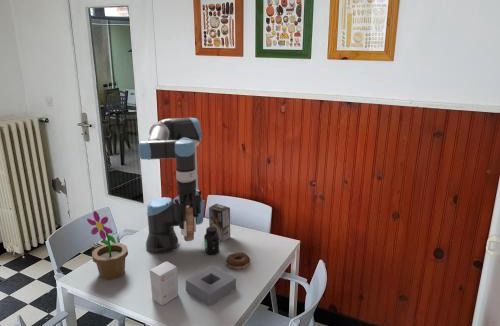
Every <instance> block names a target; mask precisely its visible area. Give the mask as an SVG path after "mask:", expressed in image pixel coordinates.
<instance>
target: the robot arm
mask: <svg viewBox="0 0 500 326" xmlns="http://www.w3.org/2000/svg"><path fill="white" fill-rule="evenodd" d="M148 133H149V134H148V135H149V136H148V139H147V140H142V141H139V143H138V156H139V159H141V160H148V161H149V160H166V159H167V160H168V159H169V160H171V159H172V160H173V159H175V179H176V189H177V196H175V197H172V198H171V197H165V196H164V197H158V198H155V199H153V200H151V201H149V203H148V204H147V206H146V207H147V209H146V210H147V212H146V216H147V223H148V224H147V226H148V234H147V239H146V241H145V248H146V250H147V251H148V252H150V253H151V254H152V253H153V254H167V253H170V252H172V251H174V250H176V249H177V248H178V247H179V239H178V236H177V234H176V232H175V228H174V227H179V229H180V234H181V236H183V237H184V236H187V228H186V221H185V212H186V206H192V207H193V226H194V233H196V232H197V226H198V225H201V224H203V223H204V222H203V221H204V216H205V215H204V214H205V213H204V212H205V204H206V203H205V202H206V200H204V199H203V198H202V191H201V190H199V182H198V181H199V180H198V179H199V178H198V177H199V176H198V157H197V156H198V155H197V154H198V153H197V147H198V146H199V145H200V142H201V141H202V139H203V136H202V129H201V122H200V120H199V119H198V118H196V117H173V118H171V117H168V118H163V119H160V120H158V121H157V122H155V123H154V124H153V125H152V126H151V127H150V129H149V132H148Z"/></svg>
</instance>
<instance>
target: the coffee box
mask: <svg viewBox="0 0 500 326" xmlns="http://www.w3.org/2000/svg"><path fill="white" fill-rule="evenodd" d="M208 221H209V222H208V223H209V226H208V227H215V228H217V233H218V235H219V241H221V242H225V241H226V240H228V239H229V238H231V207H229V206H225V205H223V204H219V203H215V204H213V205H212V204H211V206H209V207H208Z"/></svg>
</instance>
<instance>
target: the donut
mask: <svg viewBox="0 0 500 326" xmlns="http://www.w3.org/2000/svg"><path fill="white" fill-rule="evenodd" d="M225 261H226V265H227V266H228V267H230V268H231V269H234V270H241V269H244V268H247V267H248V266H249V264H250V262H251V258H250V256H249V255H248V254H247V253H246V252H242V251H237V252H233V253H230V254H229V255H228V256H227V257H226V260H225Z"/></svg>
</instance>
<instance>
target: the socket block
mask: <svg viewBox="0 0 500 326" xmlns="http://www.w3.org/2000/svg"><path fill="white" fill-rule="evenodd" d="M236 290H237V277H235V276H233V275H231V274H229V273H227V272H225V271H224V270H222V269H220V268H218V267H216V266H215V265H213V264H211V265H209V266H208V267H206V268H204V269H202V270H201V271H199V272H196V273H195V274H193V275H192V276H189V277H187V278H186V279H185V291H186V292H188V293H189V294H191V295H192V296H194V297H196V298H197V299H198V300H199V301H202V302H203V303H205V304H206V305H208V306H210V307H211V306H213V305H214V304H215V303H218V302H219V301H221V300H222V299H223V298H225V297H227V296H228V295H229V294H231V293H233V292H234V291H236Z"/></svg>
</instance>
